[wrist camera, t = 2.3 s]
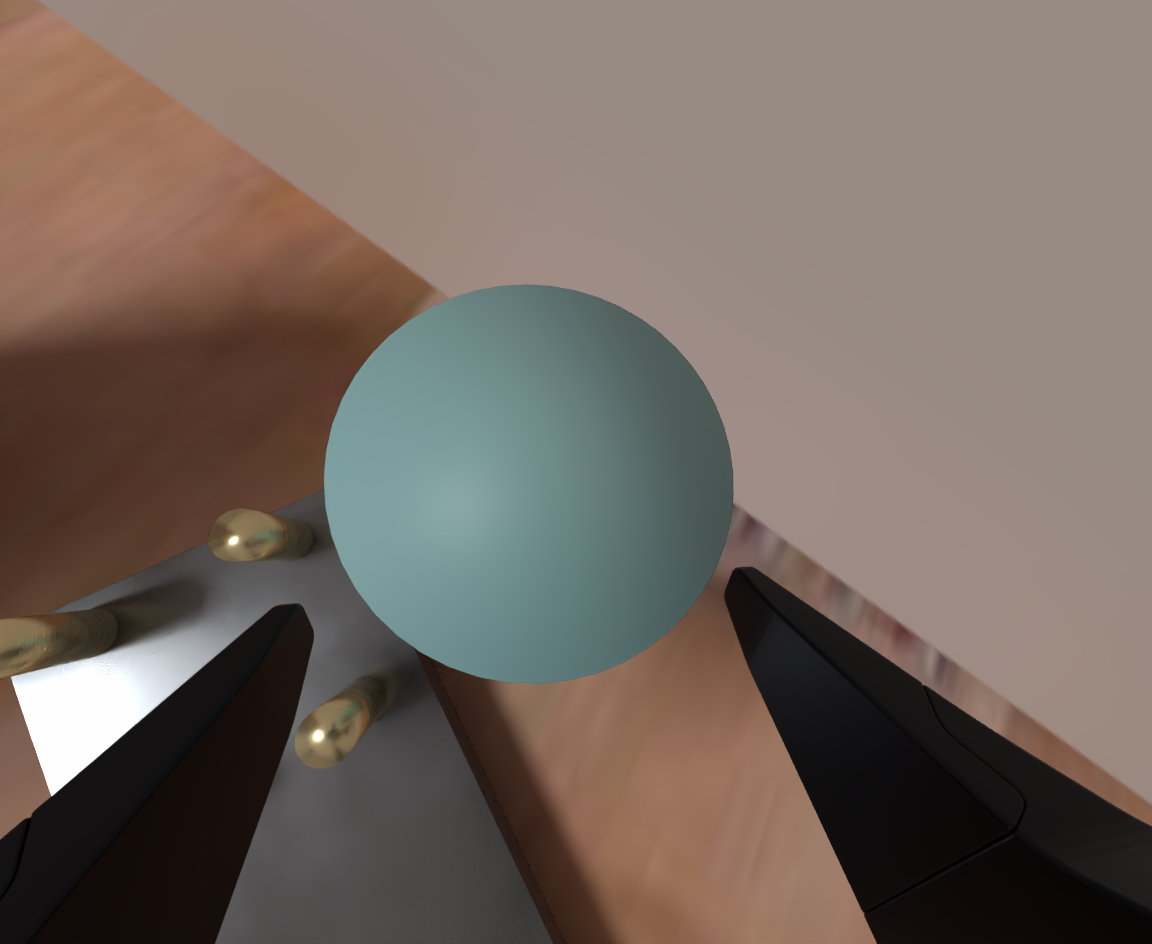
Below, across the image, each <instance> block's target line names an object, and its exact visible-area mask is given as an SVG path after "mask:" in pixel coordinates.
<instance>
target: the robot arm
mask: <svg viewBox="0 0 1152 944" xmlns="http://www.w3.org/2000/svg"><path fill="white" fill-rule="evenodd" d="M724 598H725V603H726V606H727V608H728V611H729V614H730V617H731V620H732V623H733V626H734V628H735V631H736V634H737V637H738V640H739V643H740V645H741V648H742V651H743V654H744V657H745V659H746V662H747V664H748V667H749V669H750V671H751V674H752V676H753V678H754V680H755V682H756V685H757V687H758V689H759V691H760V693H761V695H762V697H763V700H764V702H765V704H766V706H767V708H768V710H769V712H770V715H771V717H772V719H773V721H774V723H775V725H776V727H777V730H778V732H779V734H780V736H781V738H782V740H783V742H784V745H785V747H786V749H787V751H788V753H789V755H790V757H791V760H792V762H793V764H794V766H795V768H796V770H797V772H798V775H799V777H800V779H801V781H802V783H803V785H804V787H805V790H806V792H807V794H808V796H809V798H810V800H811V802H812V805H813V807H814V809H815V811H816V813H817V815H818V817H819V820H820V822H821V824H822V826H823V828H824V830H825V832H826V835H827V837H828V839H829V841H830V843H831V845H832V847H833V850H834V852H835V854H836V856H837V858H838V860H839V862H840V865H841V867H842V869H843V871H844V873H845V875H846V877H847V880H848V882H849V884H850V886H851V888H852V890H853V892H854V895H855V897H856V899H857V901H858V903H859V905H860V907H861V910H862V911H863V912H864V917H865V919H866V921H867V923H868V925H869V927H870V930H871V932H872V934H873V936H874V938H875V940H876V942H877V944H1152V826H1150V825H1148V824H1146V823H1144V822H1142V821H1140V820H1139V819H1137V818H1135V817H1133V816H1131V815H1129V814H1128V813H1126V812H1124V811H1123V810H1121V809H1119V808H1118V807H1116V806H1114V805H1113V804H1111V803H1109V802H1108V801H1106V800H1104V799H1103V798H1101V797H1100V796H1098V795H1096V794H1095V793H1093V792H1091V791H1090V790H1088V789H1087V788H1085V787H1083V786H1082V785H1080V784H1078V783H1077V782H1075V781H1074V780H1072V779H1070V778H1069V777H1067V776H1065V775H1064V774H1062V773H1061V772H1059V771H1057V770H1056V769H1054V768H1052V767H1051V766H1049V765H1048V764H1046V763H1044V762H1043V761H1041V760H1040V759H1038V758H1036V757H1035V756H1033V755H1031V754H1030V753H1028V752H1027V751H1025V750H1023V749H1022V748H1020V747H1018V746H1017V745H1015V744H1014V743H1012V742H1011V741H1009V740H1007V739H1006V738H1004V737H1003V736H1001V735H1000V734H998V733H996V732H995V731H993V730H992V729H990V728H988V727H987V726H985V725H984V724H982V723H981V722H979V721H978V720H976V719H975V718H973V717H972V716H970V715H969V714H967V713H966V712H964V711H963V710H961V709H960V708H958V707H957V706H955V705H954V704H952V703H951V702H949V701H948V700H946V699H945V698H943V697H942V696H940V695H939V694H937V693H936V692H935V691H933V690H932V689H930V688H929V687H927V686H925V685H922V683H921V682H920V681H918V680H917V679H915V678H914V677H913V676H911V675H910V674H908V673H907V672H905V671H904V670H902V669H901V668H900V667H898V666H897V665H895V664H894V663H892V662H891V661H889V660H888V659H886V658H885V657H884V656H882V655H881V654H879V653H878V652H876V651H875V650H873V649H872V648H870V647H869V646H868V645H866V644H865V643H863V642H862V641H860V640H859V639H857V638H856V637H854V636H853V635H852V634H850V633H849V632H847V631H846V630H844V629H843V628H841V627H840V626H838V625H837V624H836V623H834V622H833V621H831V620H830V619H828V618H827V617H825V616H824V615H822V614H821V613H820V612H818V611H817V610H815V609H814V608H812V607H811V606H809V605H808V604H806V603H805V602H804V601H802V600H801V599H799V598H798V597H796V596H795V595H793V594H792V593H790V592H789V591H788V590H786V589H785V588H783V587H782V586H780V585H779V584H777V583H776V582H774V581H773V580H772V579H770V578H769V577H767V576H766V575H764V574H763V573H761V572H760V571H758V570H757V569H755V568H753V567H738V568H735V569H734V570H733V571H732V574H731V576H730V579H729V581H728V584H727V587H726V589H725V594H724ZM313 642H314V630H313V627H312V625H311V623H310V620H309V618H308V616H307V614H306V612H305V609H304V607H303V606H302V605H301V604H299V603H293V604H281V605H277V606H274V607H273V608H271V609H270V610H269V611H268V612H266V613H265V614H264V615H263V616H262V617H261V618H259V619H258V620H257V621H256V622H255V623H254V624H252V625H251V626H250V627H249V628H248V629H247V630H245V631H244V632H243V633H242V634H241V635H240V636H238V637H237V638H236V639H235V640H234V641H232V642H231V643H230V644H229V645H228V646H227V647H225V648H224V649H223V650H222V651H221V652H220V653H218V654H217V655H216V656H215V657H214V658H213V659H211V660H210V661H209V662H208V663H207V664H206V665H204V666H203V667H202V668H201V669H200V670H199V671H197V672H196V673H195V674H194V675H193V676H192V677H190V678H189V679H188V680H187V681H186V682H185V683H183V684H182V685H181V686H180V687H179V688H178V689H176V690H175V691H174V692H173V693H172V694H170V695H169V696H168V697H167V698H166V699H165V700H163V701H162V702H161V703H160V704H159V705H158V706H156V707H155V708H154V709H153V710H152V711H151V712H149V713H148V714H147V715H146V716H145V717H144V718H142V719H141V720H140V721H139V722H138V723H137V724H135V725H134V726H133V727H132V728H131V729H130V730H128V731H127V732H126V733H125V734H124V735H123V736H121V737H120V738H119V739H118V740H117V741H116V742H114V743H113V744H112V745H111V746H110V747H108V748H107V749H106V750H105V751H104V752H103V753H101V754H100V755H99V756H98V757H97V758H96V759H94V760H93V761H92V762H91V763H90V764H89V765H87V766H86V767H85V768H84V769H83V770H82V771H80V772H79V773H78V774H77V775H76V776H75V777H73V778H72V779H71V780H70V781H69V782H68V783H66V784H65V785H64V786H63V787H62V788H61V789H59V790H58V791H57V792H56V793H55V794H54V795H52V796H51V797H50V798H49V799H48V800H47V801H45V802H44V803H43V804H42V805H41V806H39V807H38V808H37V809H36V810H35V811H34V812H33V813H32V816H31V818H26V819H24V820H23V821H22V822H20V823H19V824H18V825H17V826H16V827H15V828H13V829H12V830H11V831H10V832H9V833H8V834H6V835H5V836H4V837H3V838H2V839H1V840H0V944H215V943H216V940H217V937H218V934H219V932H220V929H221V926H222V923H223V920H224V918H225V915H226V912H227V909H228V906H229V904H230V901H231V898H232V895H233V892H234V890H235V887H236V884H237V881H238V878H239V876H240V873H241V870H242V867H243V864H244V862H245V859H246V856H247V853H248V850H249V848H250V845H251V842H252V839H253V836H254V834H255V831H256V828H257V825H258V822H259V820H260V817H261V814H262V811H263V808H264V806H265V803H266V800H267V797H268V794H269V792H270V789H271V786H272V783H273V780H274V778H275V775H276V772H277V769H278V767H279V764H280V761H281V758H282V755H283V753H284V750H285V747H286V744H287V741H288V739H289V736H290V733H291V729H292V726H293V723H294V720H295V716H296V712H297V708H298V704H299V700H300V696H301V692H302V688H303V684H304V679H305V675H306V671H307V667H308V663H309V659H310V655H311V650H312V646H313Z"/></svg>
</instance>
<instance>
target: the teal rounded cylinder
mask: <svg viewBox="0 0 1152 944" xmlns="http://www.w3.org/2000/svg"><path fill="white" fill-rule="evenodd" d="M324 490H325V506H326V512H327V517H328V521H329V526H330V531H331V535H332V538H333V541H334V544H335V546H336V549H337V552H338V555H339V557H340V560H341V563H342V565H343V567H344V568H345V570H346V572H347V574H348V576H349V577H350V579H351V581H352V583H353V585H354V586H355V588H356V590H357V591H358V593H359V594H360V595H361V597H362V598H363V599H364V600H365V602H366V603H367V604H368V606H369V607H370V608H371V610H372V611H373V612H374V613H375V615H376V616H378V617H379V618H380V619H381V620H382V621H383V622H384V623H385V624H386V625H387V626H388V627H389V628H390V629H391V630H392V631H393V632H394V633H395V634H396V635H397V636H399V637H400V638H401V639H403V640H404V641H406V642H407V643H408V644H410V645H411V646H413V647H414V648H415V649H417V650H418V651H420V652H421V653H423V654H425V655H427V656H429V657H431V658H432V659H434V660H436V661H438V662H440V663H442V664H444V665H446V666H448V667H450V668H453V669H456V670H459V671H462V672H465V673H468V674H471V675H474V676H477V677H481V678H486V679H492V680H497V681H502V682H508V683H532V684H540V683H550V682H560V681H568V680H572V679H577V678H581V677H585V676H589V675H593V674H596V673H599V672H601V671H604V670H606V669H609V668H611V667H614V666H616V665H619V664H621V663H623V662H625V661H627V660H628V659H630V658H632V657H634V656H635V655H637V654H639V653H641V652H642V651H644V650H646V649H647V648H649V647H650V646H651V645H653V644H654V643H655V642H656V641H658V640H659V639H660V638H662V637H663V636H664V635H665V634H667V633H668V632H669V631H670V630H671V629H672V628H673V627H674V626H675V625H676V624H677V623H678V622H679V621H680V620H681V619H682V618H683V617H684V616H685V615H686V614H687V612H688V611H689V610H690V608H691V607H692V606H693V604H694V603H695V602H696V600H697V599H698V598H699V596H700V595H701V594H702V592H703V591H704V589H705V587H706V585H707V583H708V582H709V580H710V578H711V576H712V574H713V572H714V571H715V569H716V566H717V564H718V561H719V558H720V556H721V553H722V551H723V548H724V546H725V542H726V538H727V534H728V530H729V526H730V521H731V513H732V504H733V469H732V461H731V454H730V448H729V444H728V440H727V436H726V433H725V429H724V426H723V423H722V420H721V418H720V415H719V413H718V410H717V408H716V405H715V403H714V401H713V399H712V397H711V395H710V394H709V392H708V390H707V388H706V386H705V384H704V383H703V381H702V380H701V378H700V377H699V375H698V374H697V373H696V371H695V370H694V368H693V367H692V365H691V364H690V363H689V362H688V361H687V359H686V358H685V357H684V356H683V355H682V354H681V353H680V352H679V350H678V349H677V348H676V347H675V346H674V345H673V344H672V343H670V342H669V341H668V340H667V339H666V338H665V337H664V336H663V335H662V334H661V333H660V332H658V331H657V330H656V329H654V328H653V327H652V326H650V325H649V324H647V323H646V322H645V321H643V320H642V319H640V318H639V317H637V316H635V315H634V314H632V313H630V312H628V311H627V310H625V309H623V308H621V307H619V306H617V305H615V304H612V303H610V302H608V301H605V300H603V299H601V298H598V297H595V296H592V295H589V294H585V293H582V292H578V291H575V290H570V289H565V288H559V287H553V286H540V285H511V286H510V285H509V286H499V287H493V288H488V289H482V290H477V291H474V292H470V293H467V294H463V295H460V296H457V297H454V298H451V299H449V300H447V301H444V302H442V303H440V304H437V305H435V306H433V307H431V308H429V309H428V310H426V311H424V312H422V313H421V314H419V315H417V316H416V317H414V318H412V319H411V320H409V321H408V322H407V323H405V324H404V325H403V326H401V327H400V328H399V329H398V330H396V331H395V332H394V333H392V334H391V335H390V336H389V337H388V338H387V339H386V340H385V341H384V342H383V343H382V344H381V345H380V346H379V347H378V348H377V349H376V350H375V351H374V352H373V353H372V354H371V355H370V357H369V358H368V359H367V361H366V362H365V363H364V365H363V366H362V367H361V369H360V370H359V371H358V373H357V374H356V375H355V377H354V379H353V380H352V382H351V384H350V386H349V388H348V389H347V391H346V393H345V395H344V397H343V398H342V401H341V403H340V406H339V409H338V411H337V414H336V416H335V419H334V421H333V424H332V428H331V432H330V437H329V441H328V445H327V450H326V459H325V471H324Z"/></svg>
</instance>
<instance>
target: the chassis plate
mask: <svg viewBox="0 0 1152 944" xmlns="http://www.w3.org/2000/svg"><path fill="white" fill-rule="evenodd" d="M293 603H299V604H301V605H302V606H303V607H304V609H305V612H306V614H307V616H308V618H309V620H310V623H311V625H312V627H313V630H314V642H313V646H312V650H311V655H310V659H309V663H308V667H307V671H306V675H305V679H304V684H303V688H302V692H301V696H300V700H299V704H298V708H297V712H296V716H295V720H294V723H293V726H292V729H291V733H290V736H289V739H288V741H287V744H286V747H285V750H284V753H283V755H282V758H281V761H280V764H279V767H278V769H277V772H276V775H275V778H274V780H273V783H272V786H271V789H270V792H269V794H268V797H267V800H266V803H265V806H264V808H263V811H262V814H261V817H260V820H259V822H258V825H257V828H256V831H255V834H254V836H253V839H252V842H251V845H250V848H249V850H248V853H247V856H246V859H245V862H244V864H243V867H242V870H241V873H240V876H239V878H238V881H237V884H236V887H235V890H234V892H233V895H232V898H231V901H230V904H229V906H228V909H227V912H226V915H225V918H224V920H223V923H222V926H221V929H220V932H219V934H218V937H217V940H216V943H215V944H566V943H565V941H564V939H563V936H562V934H561V932H560V930H559V928H558V926H557V924H556V922H555V920H554V917H553V915H552V913H551V911H550V909H549V907H548V905H547V903H546V901H545V899H544V896H543V894H542V892H541V890H540V888H539V886H538V884H537V882H536V880H535V878H534V875H533V873H532V871H531V869H530V867H529V865H528V863H527V861H526V859H525V856H524V854H523V852H522V850H521V848H520V846H519V844H518V842H517V840H516V838H515V835H514V833H513V831H512V829H511V827H510V825H509V823H508V821H507V819H506V817H505V814H504V812H503V810H502V808H501V806H500V804H499V802H498V800H497V798H496V795H495V793H494V791H493V789H492V787H491V785H490V783H489V781H488V779H487V777H486V774H485V772H484V770H483V768H482V766H481V764H480V762H479V760H478V758H477V755H476V753H475V751H474V749H473V747H472V745H471V743H470V741H469V739H468V737H467V734H466V732H465V730H464V728H463V726H462V724H461V722H460V720H459V718H458V716H457V713H456V711H455V709H454V707H453V705H452V703H451V701H450V699H449V697H448V694H447V692H446V690H445V688H444V686H443V684H442V682H441V680H440V678H439V676H438V673H437V671H436V669H435V667H434V665H433V663H432V661H431V659H430V657H429V656H427V655H425V654H423V653H421V652H420V651H418V650H417V649H415V648H414V647H413V646H411V645H410V644H408V643H407V642H406V641H404V640H403V639H401V638H400V637H399V636H397V635H396V634H395V633H394V632H393V631H392V630H391V629H390V628H389V627H388V626H387V625H386V624H385V623H384V622H383V621H382V620H381V619H380V618H379V617H378V616H376V615H375V613H374V612H373V611H372V610H371V608H370V607H369V606H368V604H367V603H366V602H365V600H364V599H363V598H362V597H361V595H360V594H359V593H358V591H357V590H356V588H355V586H354V585H353V583H352V581H351V579H350V577H349V576H348V574H347V572H346V570H345V568H344V567H343V565H342V563H341V560H340V557H339V555H338V552H337V549H336V546H335V544H334V541H333V538H332V535H331V531H330V526H329V521H328V517H327V512H326V506H325V490H322V491H319V492H317V493H315V494H313V495H310V496H308V497H306V498H304V499H301V500H299V501H297V502H295V503H293V504H290V505H288V506H286V507H284V508H281V509H279V510H277V511H275V512H272V513H265V512H260V511H255V510H251V509H244V508H241V509H234V510H231V511H228V512H226V513H224V514H223V515H221V516H220V517H219V518H218V519H217V520H216V521H215V522H214V523H213V525H212V526H211V528H210V531H209V535H208V542H206V543H203V544H201V545H199V546H197V547H194V548H192V549H190V550H188V551H185V552H183V553H181V554H179V555H177V556H174V557H172V558H170V559H168V560H165V561H163V562H161V563H159V564H156V565H154V566H152V567H150V568H147V569H145V570H143V571H141V572H139V573H136V574H134V575H132V576H130V577H127V578H125V579H123V580H121V581H118V582H116V583H114V584H112V585H110V586H107V587H105V588H103V589H101V590H98V591H96V592H94V593H92V594H89V595H87V596H85V597H83V598H81V599H78V600H76V601H74V602H72V603H69V604H67V605H65V606H63V607H60V608H58V609H56V610H54V611H52V612H49V613H47V614H43V615H34V616H25V617H16V618H7V619H0V679H2V678H7V677H11V679H12V682H13V685H14V688H15V691H16V694H17V697H18V700H19V703H20V705H21V708H22V711H23V714H24V717H25V720H26V723H27V726H28V729H29V732H30V735H31V737H32V740H33V743H34V746H35V749H36V752H37V755H38V758H39V761H40V764H41V767H42V770H43V772H44V775H45V778H46V781H47V784H48V787H49V790H50V793H51V796H52V795H54V794H55V793H56V792H57V791H58V790H59V789H61V788H62V787H63V786H64V785H65V784H66V783H68V782H69V781H70V780H71V779H72V778H73V777H75V776H76V775H77V774H78V773H79V772H80V771H82V770H83V769H84V768H85V767H86V766H87V765H89V764H90V763H91V762H92V761H93V760H94V759H96V758H97V757H98V756H99V755H100V754H101V753H103V752H104V751H105V750H106V749H107V748H108V747H110V746H111V745H112V744H113V743H114V742H116V741H117V740H118V739H119V738H120V737H121V736H123V735H124V734H125V733H126V732H127V731H128V730H130V729H131V728H132V727H133V726H134V725H135V724H137V723H138V722H139V721H140V720H141V719H142V718H144V717H145V716H146V715H147V714H148V713H149V712H151V711H152V710H153V709H154V708H155V707H156V706H158V705H159V704H160V703H161V702H162V701H163V700H165V699H166V698H167V697H168V696H169V695H170V694H172V693H173V692H174V691H175V690H176V689H178V688H179V687H180V686H181V685H182V684H183V683H185V682H186V681H187V680H188V679H189V678H190V677H192V676H193V675H194V674H195V673H196V672H197V671H199V670H200V669H201V668H202V667H203V666H204V665H206V664H207V663H208V662H209V661H210V660H211V659H213V658H214V657H215V656H216V655H217V654H218V653H220V652H221V651H222V650H223V649H224V648H225V647H227V646H228V645H229V644H230V643H231V642H232V641H234V640H235V639H236V638H237V637H238V636H240V635H241V634H242V633H243V632H244V631H245V630H247V629H248V628H249V627H250V626H251V625H252V624H254V623H255V622H256V621H257V620H258V619H259V618H261V617H262V616H263V615H264V614H265V613H266V612H268V611H269V610H270V609H271V608H273V607H274V606H277V605H281V604H293Z"/></svg>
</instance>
